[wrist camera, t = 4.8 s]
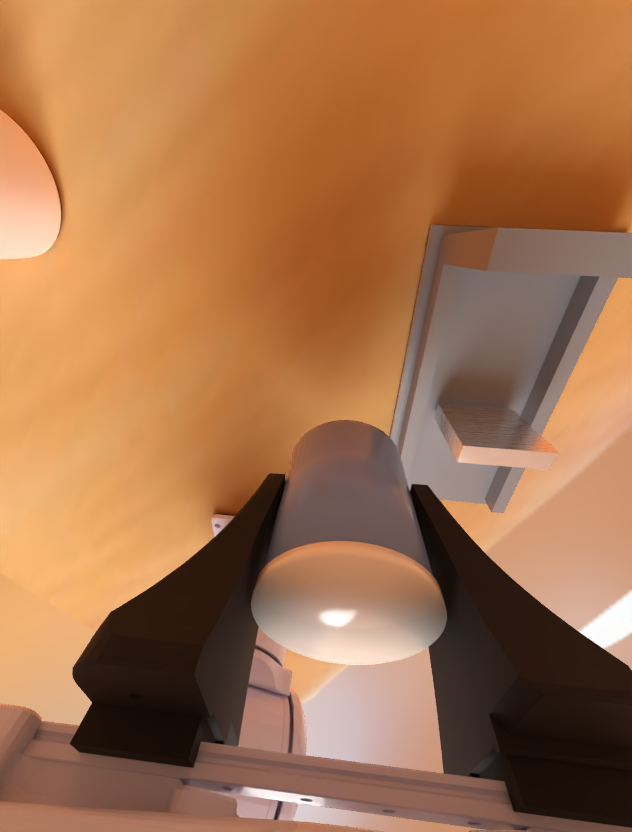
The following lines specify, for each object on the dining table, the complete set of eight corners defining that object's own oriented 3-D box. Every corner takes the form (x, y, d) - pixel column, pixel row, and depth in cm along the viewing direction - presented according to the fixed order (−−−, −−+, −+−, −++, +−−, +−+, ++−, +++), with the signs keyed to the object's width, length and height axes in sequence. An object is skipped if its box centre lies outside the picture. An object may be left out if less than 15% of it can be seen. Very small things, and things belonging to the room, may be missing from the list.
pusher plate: (507, 423, 18) (550, 470, 15) (434, 418, 19) (457, 462, 15) (513, 409, 18) (559, 453, 14) (438, 403, 18) (463, 445, 14)
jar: (396, 511, 15) (429, 671, 9) (291, 506, 15) (261, 657, 10) (411, 419, 12) (467, 562, 7) (284, 416, 13) (237, 549, 7)
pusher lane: (500, 502, 22) (550, 584, 17) (379, 491, 23) (390, 567, 17) (626, 233, 14) (808, 223, 9) (430, 225, 14) (482, 210, 9)
